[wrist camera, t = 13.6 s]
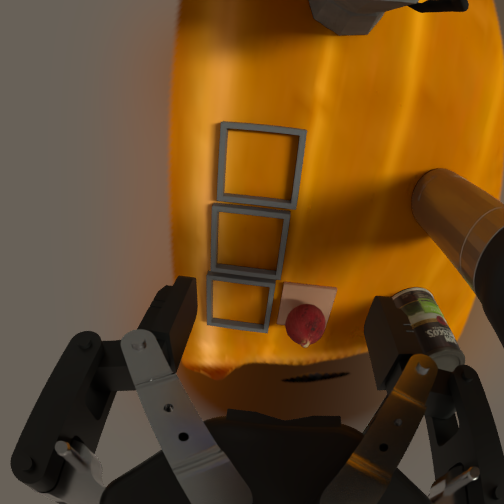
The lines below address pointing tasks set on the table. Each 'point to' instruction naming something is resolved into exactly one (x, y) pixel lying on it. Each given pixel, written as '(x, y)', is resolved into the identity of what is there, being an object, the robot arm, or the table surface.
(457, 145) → the table surface
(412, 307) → the coffee can
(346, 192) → the table surface
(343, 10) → the coffeepot
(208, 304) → the tray
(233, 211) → the tray
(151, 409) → the robot arm
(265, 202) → the tray
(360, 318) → the table surface
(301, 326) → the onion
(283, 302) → the tile
